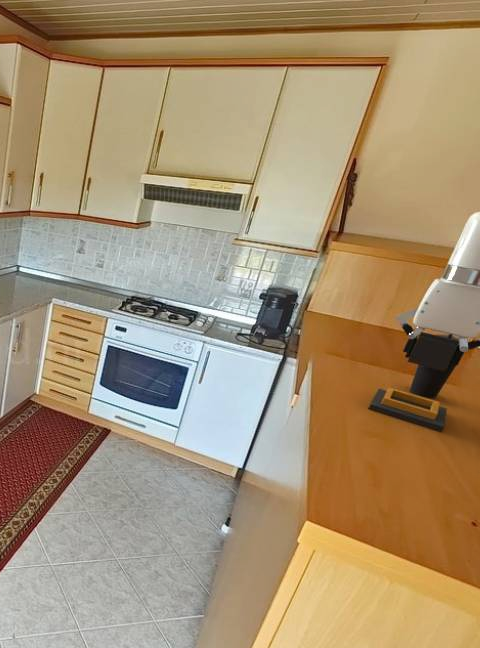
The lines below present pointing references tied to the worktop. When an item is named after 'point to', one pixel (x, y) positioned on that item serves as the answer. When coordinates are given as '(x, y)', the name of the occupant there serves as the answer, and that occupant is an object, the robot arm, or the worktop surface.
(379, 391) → the base pad
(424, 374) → the drinking cup
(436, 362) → the black pad
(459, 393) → the worktop surface
